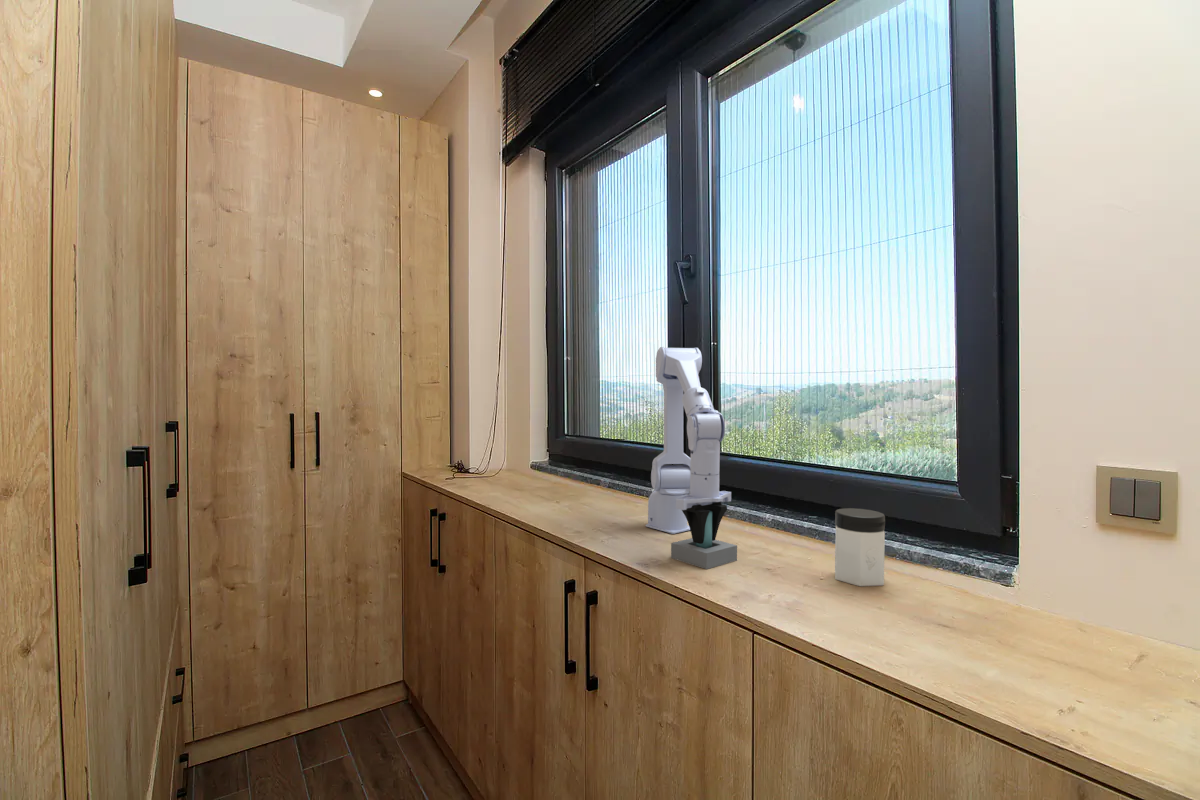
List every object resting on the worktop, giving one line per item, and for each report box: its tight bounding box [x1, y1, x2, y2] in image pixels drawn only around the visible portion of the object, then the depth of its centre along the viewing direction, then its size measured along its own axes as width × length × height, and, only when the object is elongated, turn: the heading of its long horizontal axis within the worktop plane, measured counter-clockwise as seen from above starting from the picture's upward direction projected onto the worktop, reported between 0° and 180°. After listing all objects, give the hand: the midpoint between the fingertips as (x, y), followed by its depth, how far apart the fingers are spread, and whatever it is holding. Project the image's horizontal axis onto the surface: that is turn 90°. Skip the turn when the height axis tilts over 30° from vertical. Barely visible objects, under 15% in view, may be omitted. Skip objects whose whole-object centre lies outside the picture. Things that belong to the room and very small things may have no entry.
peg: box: [696, 511, 712, 549], centre depth 113 cm, size 3×3×8 cm
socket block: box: [670, 537, 738, 570], centre depth 113 cm, size 9×9×3 cm
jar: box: [834, 507, 886, 587], centre depth 102 cm, size 9×8×12 cm
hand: (704, 541), depth 113 cm, fingers closed on peg, 3 cm apart
